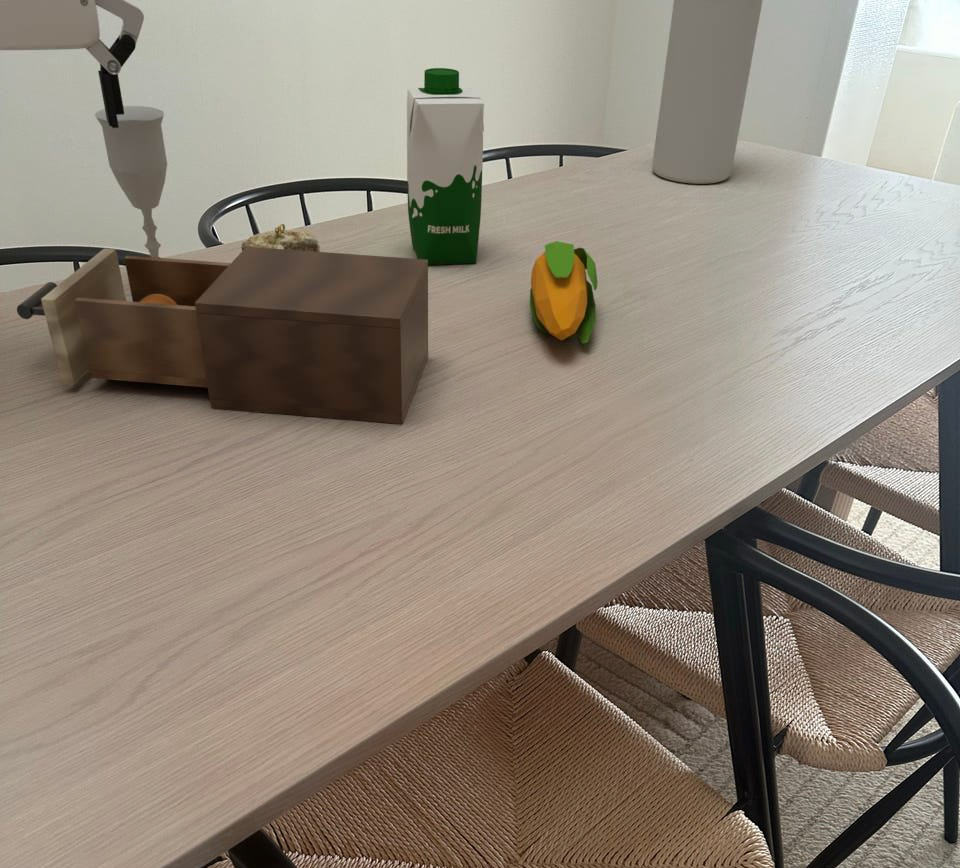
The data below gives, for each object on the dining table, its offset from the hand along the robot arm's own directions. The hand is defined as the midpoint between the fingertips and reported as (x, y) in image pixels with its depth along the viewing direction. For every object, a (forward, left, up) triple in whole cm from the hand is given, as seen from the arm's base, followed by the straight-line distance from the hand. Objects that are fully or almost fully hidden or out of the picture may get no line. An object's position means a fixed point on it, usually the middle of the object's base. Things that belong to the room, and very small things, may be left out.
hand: (53, 126), depth 83 cm
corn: (+44, +18, -21) cm, 52 cm away
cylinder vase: (+61, +84, -21) cm, 106 cm away
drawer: (+5, 0, -20) cm, 21 cm away
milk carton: (+28, +38, -21) cm, 52 cm away
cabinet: (+22, 0, -21) cm, 31 cm away
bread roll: (+7, 0, -19) cm, 20 cm away
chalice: (-2, +20, -21) cm, 29 cm away
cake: (+10, +29, -21) cm, 37 cm away
